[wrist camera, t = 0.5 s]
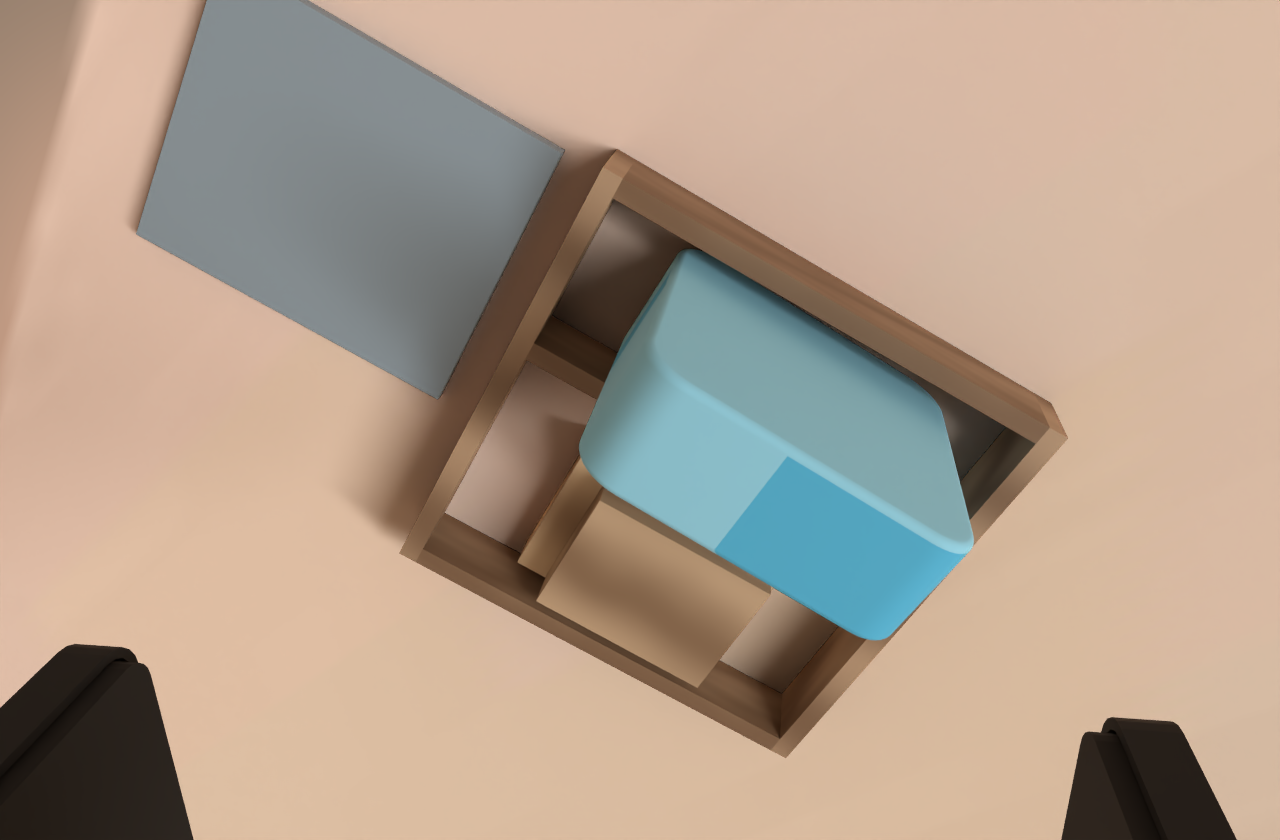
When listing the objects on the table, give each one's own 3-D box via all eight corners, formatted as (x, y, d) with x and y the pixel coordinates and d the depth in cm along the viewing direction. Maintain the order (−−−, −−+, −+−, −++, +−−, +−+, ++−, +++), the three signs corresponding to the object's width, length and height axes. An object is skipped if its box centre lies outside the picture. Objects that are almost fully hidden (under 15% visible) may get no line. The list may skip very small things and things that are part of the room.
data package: (627, 327, 42) (565, 470, 32) (685, 236, 40) (640, 356, 30) (872, 476, 44) (892, 661, 33) (940, 395, 42) (985, 564, 31)
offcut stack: (597, 423, 45) (578, 469, 41) (795, 534, 46) (793, 588, 42) (528, 537, 48) (505, 588, 44) (715, 639, 49) (706, 696, 45)
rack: (617, 148, 39) (603, 166, 36) (1051, 403, 41) (1068, 438, 38) (422, 517, 48) (399, 553, 45) (787, 712, 50) (785, 758, 47)
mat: (228, -46, 38) (220, -46, 37) (565, 150, 39) (561, 153, 39) (144, 230, 43) (136, 234, 43) (442, 393, 45) (438, 399, 44)
